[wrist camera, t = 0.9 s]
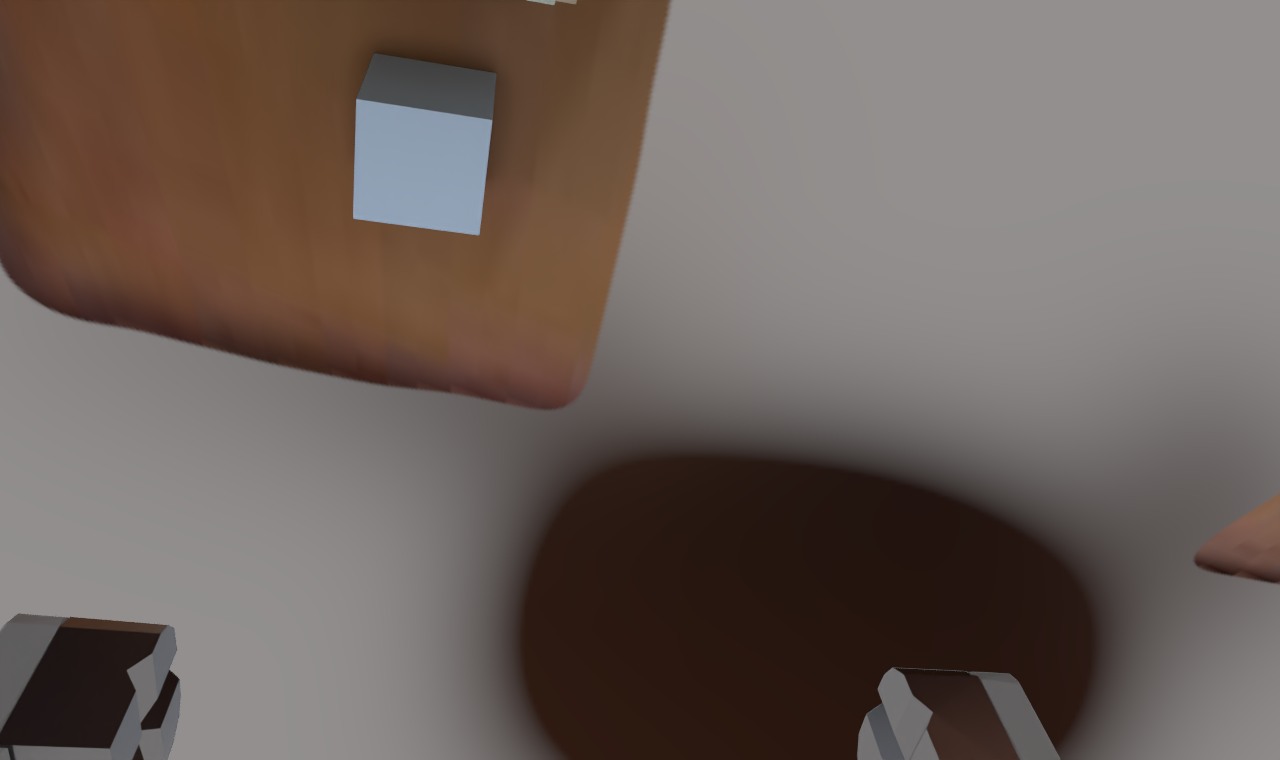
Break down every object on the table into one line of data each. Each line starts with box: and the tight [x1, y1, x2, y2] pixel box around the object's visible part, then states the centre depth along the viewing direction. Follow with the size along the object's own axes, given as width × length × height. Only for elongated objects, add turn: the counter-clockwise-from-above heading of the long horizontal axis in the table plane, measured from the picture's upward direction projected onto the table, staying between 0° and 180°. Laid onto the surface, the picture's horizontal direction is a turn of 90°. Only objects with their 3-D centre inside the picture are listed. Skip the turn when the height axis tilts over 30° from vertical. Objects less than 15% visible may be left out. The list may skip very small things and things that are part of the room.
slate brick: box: [353, 53, 497, 235], centre depth 40 cm, size 5×5×5 cm
